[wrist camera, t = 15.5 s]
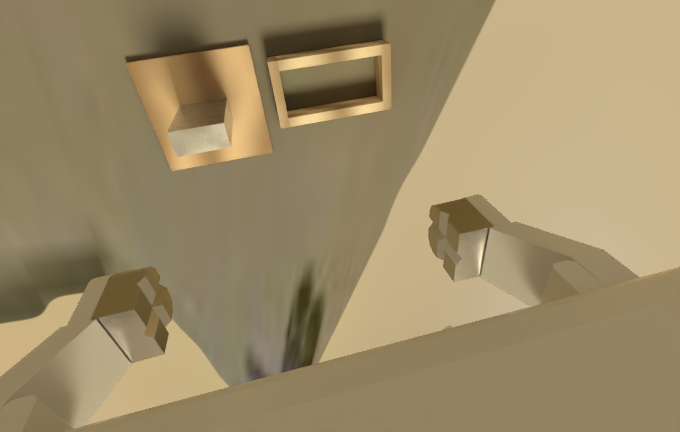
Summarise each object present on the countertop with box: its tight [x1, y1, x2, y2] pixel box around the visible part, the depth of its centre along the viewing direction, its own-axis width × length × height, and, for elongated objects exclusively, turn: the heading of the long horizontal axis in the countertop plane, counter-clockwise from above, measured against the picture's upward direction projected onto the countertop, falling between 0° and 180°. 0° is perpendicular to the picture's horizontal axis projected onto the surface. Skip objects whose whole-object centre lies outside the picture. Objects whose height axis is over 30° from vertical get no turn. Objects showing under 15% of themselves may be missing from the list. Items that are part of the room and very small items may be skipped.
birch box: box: [266, 40, 391, 128], centre depth 39 cm, size 13×7×2 cm, turn 96°
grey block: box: [167, 98, 233, 157], centre depth 36 cm, size 5×2×8 cm, turn 96°
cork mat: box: [126, 44, 273, 171], centre depth 39 cm, size 12×12×1 cm
